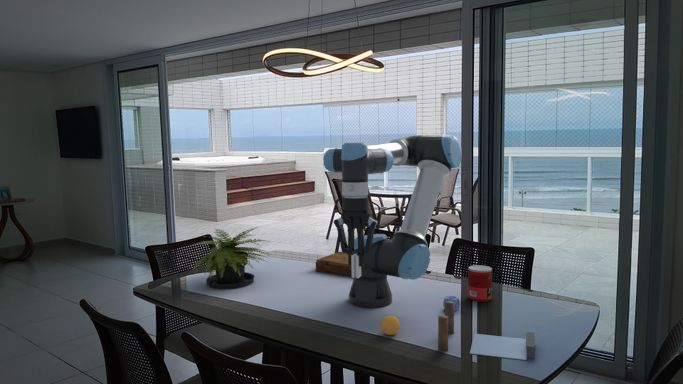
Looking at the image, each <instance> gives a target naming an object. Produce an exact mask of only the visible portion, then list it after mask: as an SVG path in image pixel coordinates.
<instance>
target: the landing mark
mask: <svg viewBox="0 0 683 384" xmlns="http://www.w3.org/2000/svg"><path fill="white" fill-rule="evenodd" d="M469 355H477V356H484V357H485V356H486V357H493V358H501V359H502V358H503V359H512V360H520V361H527V360H528V359H527V358H528V357H527V354H526V338H521V337H509V336H500V335H499V336H498V335H491V334H482V333H481V334H480V333H473V338H472V342H471V347H470V351H469Z"/></svg>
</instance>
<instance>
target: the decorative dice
mask: <svg viewBox="0 0 683 384" xmlns="http://www.w3.org/2000/svg"><path fill="white" fill-rule="evenodd" d="M446 301H452V302H454V312H456V311H458V310H459V309H460V305H461V301H460V299H459V298H458V297H457V296H455V295H447V296H446V297H445V298H444V299H443V303H442V305H443V308H444V309H445V302H446Z"/></svg>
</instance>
